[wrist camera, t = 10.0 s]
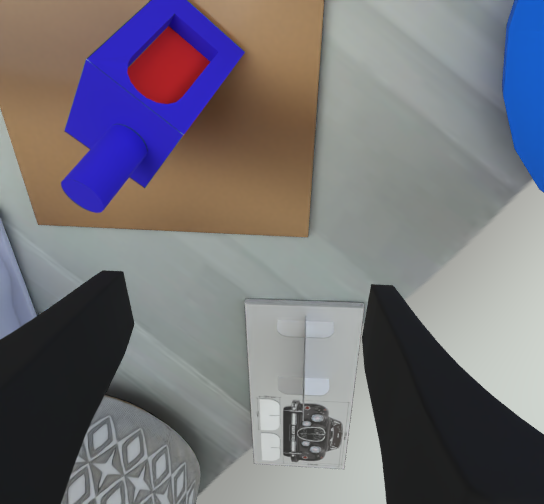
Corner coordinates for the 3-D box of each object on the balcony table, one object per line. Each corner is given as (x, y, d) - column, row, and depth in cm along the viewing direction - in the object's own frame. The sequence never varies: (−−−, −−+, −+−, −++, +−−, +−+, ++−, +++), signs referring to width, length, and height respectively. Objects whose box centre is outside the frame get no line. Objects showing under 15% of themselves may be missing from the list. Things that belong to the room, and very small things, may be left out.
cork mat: (308, 233, 22) (308, 237, 22) (41, 221, 23) (37, 224, 23) (332, -127, 15) (333, -130, 14) (-69, -129, 15) (-77, -132, 15)
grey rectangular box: (245, 298, 25) (233, 355, 21) (363, 302, 24) (373, 361, 20) (254, 458, 33) (247, 521, 29) (343, 463, 32) (348, 528, 28)
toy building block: (135, 58, 19) (14, 181, 15) (169, -18, 16) (25, 113, 12) (201, 111, 20) (106, 240, 16) (245, 51, 17) (139, 194, 13)
